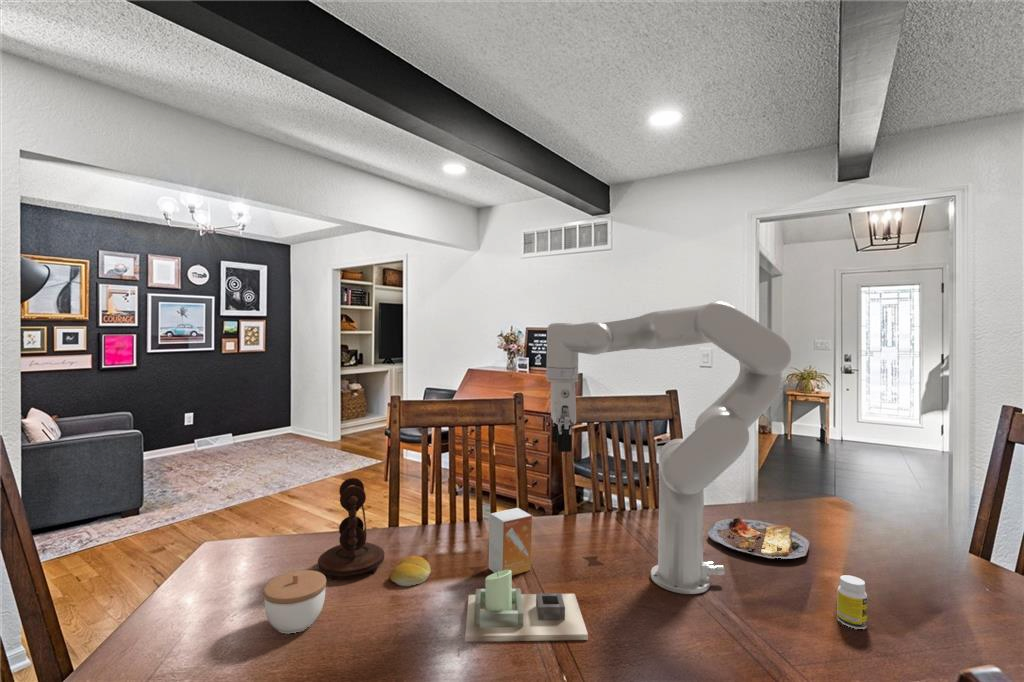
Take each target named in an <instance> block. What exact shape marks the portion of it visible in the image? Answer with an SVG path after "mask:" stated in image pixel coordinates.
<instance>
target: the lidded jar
mask: <svg viewBox="0 0 1024 682" xmlns="http://www.w3.org/2000/svg"><path fill="white" fill-rule="evenodd" d="M326 586H327V578H326V576H325V574H324V573H323V572H321V571H316V570H309V569H306V570H305V569H304V570H302V569H301V570H296V571H295V570H294V571H290V572H286V573H284V574H280V575H279V576H277V577H274V578H272V579H271V580H270V581H268V582H267V583H266V585H265V586H264V588H263V598H264V599H263V601H264V603H263V604H264V613H265V615H266V618H267V620H268V623H269V624H270V625H271V626H272V627H274V629H276V630H277V631H278V633H280V632H281V633H280V634H282V633H288V634H287V635H290V634H289V633H295V634H297V633H296V632H299V631H302V630H304V629H306V628H307V627H309V626H310V625H311V624H312V625H313V623H314V622H315V620H316V619H318V618H319V615H320V614H321V613H322V610H323V607H324V603H325V599H326V590H327V589H326ZM312 625H311V626H312ZM311 626H310V627H311ZM310 627H309V628H310ZM307 629H308V628H307ZM307 629H306V630H307ZM304 631H305V630H304ZM302 632H303V631H302ZM299 633H300V632H299Z"/></svg>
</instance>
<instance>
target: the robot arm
mask: <svg viewBox="0 0 1024 682" xmlns="http://www.w3.org/2000/svg"><path fill="white" fill-rule="evenodd" d="M711 343H712V344H713V345H715V346H716V347H718V348H719V349H720V350H722V351H724V352H725V353H727V354H728V355H729V356H731V357H732V358H734V359H736V360H737V361H738V364H739V373H738V375H737V377H736V380H735V381H734V382H733V383H732V384H731V385H730V387H729V388H727V389H726V390H725V392H724V393H722V395H720V396H719V397H718V398H717V399H716V400H715V401H714V402H713V403H711V405H709V406H708V407H707V408H706V409H705V410H704V411H702V412H701V413H700V415H698V416H697V418H696V420H695V424H694V425H695V426H694V428H695V430H694V431H692V432H691V434H689V436H687V437H686V438H674V439H671V440H669V441H668V442H666V443H665V444H664V445H663V446H662V448H661V450H660V453H659V457H658V486H659V487H658V538H657V539H658V541H657V544H658V547H657V549H658V551H657V553H658V554H657V564H656V565H654V566H652V568H651V569H650V578H651V580H652V581H653V583H654V584H656V585H657V586H659V587H660V588H662V589H664V590H667V591H670V592H673V593H677V594H680V595H681V594H682V595H697V594H701V593H705V592H707V591H708V590H709V588H710V586H711V580H710V577H711V576H712V575H714V576H715V575H716V576H724V575H725V574H726V570H725V567H724V565H719V564H717V565H716V564H715V563H714V562H713V561H704V557H703V556H704V513H705V493H704V492H705V491H704V489H706V488H707V487H709V486H710V484H712V483H713V482H715V480H716V479H717V478H719V477H720V476H721V475H722V474H723V473H724V472H725V471H726V470H727V469H729V467H731V466H732V465H733V464H734V463H735V462H736V461H737V460H738V459H740V458H741V456H742V455H743V454H744V452H745V450H747V446H748V444H749V441H750V432H749V428H751V426H752V425H754V423H756V421H757V420H758V419H759V418H760V417H761V416H762V415H763V414H764V413H765V412H766V411H767V410H768V409H769V408H770V407H771V405H772V404H773V402H774V401H775V400H776V398H777V396H778V393H779V390H780V386H781V379H782V372H783V371H785V369H786V368H787V367H788V366H789V364H790V362H791V359H792V351H791V347H790V346H789V343H788V342H787V341H786V339H785V338H783V337H782V336H780V335H779V334H778V333H777V332H775V331H773V330H772V329H770V328H768V326H767V327H766V326H765V325H764V324H762V323H760V322H758V321H757V320H755V319H754V318H752V317H751V316H749V315H748V314H746V313H744V312H743V311H741V310H740V309H738V308H737V307H735V306H734V305H731V304H729V303H727V302H724V301H712V302H710V303H709V302H708V303H707V304H700V305H693V306H688V307H680V308H673V309H666V310H665V309H664V310H656V311H653V312H647V313H645V314H642V315H640V316H636V317H632V318H627V319H620V320H614V321H613V320H612V321H605V322H597V321H593V322H583V323H572V322H554V323H549V325H547V328H546V371H545V372H546V375H545V377H546V380H545V381H546V382H550V417H551V420H552V426H551V442H552V443H555V444H556V443H557V445H556V451H557V452H558V453H563V452H564V453H571V452H572V445H573V444H572V440H573V439H572V438H573V435H572V425H576V423H577V403H576V402H577V400H576V399H577V398H576V397H577V396H576V384H575V383H577V382H579V353H580V354H586V355H594V356H595V355H596V356H597V355H600V354H604V353H605V354H606V353H612V352H614V353H615V352H619V351H621V352H622V351H629V350H640V349H641V350H643V349H644V350H645V349H646V350H659V349H668V348H669V349H670V348H676V347H677V348H678V347H684V346H693V345H694V346H695V345H701V344H711ZM714 564H715V565H714Z"/></svg>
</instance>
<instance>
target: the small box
mask: <svg viewBox="0 0 1024 682" xmlns="http://www.w3.org/2000/svg"><path fill="white" fill-rule="evenodd" d="M532 522H533V515H532V514H530V513H528V512H526V511H524V510H522V509H521V508H519V507H515V508H511V509H504V510H500V511H496V512H492V513H489V523H488V524H489V525H488V527H489V528H488V529H489V533H488V534H489V535H488V536H489V538H488V569H489V570H490V571H492V572H493V573H496V572H499V571H503V570H511V571H512V576H515V575H518V574H519V575H520V574H522V573H525V572H530V571H531V570H532V569H531V568H532V567H531V566H532V565H531V564H532V527H533V525H532V524H533V523H532ZM529 570H530V571H529Z"/></svg>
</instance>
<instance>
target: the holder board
mask: <svg viewBox="0 0 1024 682" xmlns="http://www.w3.org/2000/svg"><path fill="white" fill-rule="evenodd" d="M467 598H468V601H467V612H466V622H465V623H466V624H465V633H464V634H465V635H464V637H465V640H464V642H466V643H467V642H469V643H471V642H476V643H477V642H522V641H523V642H524V641H525V642H531V641H534V642H537V641H539V642H540V641H543V642H544V641H584V640H585V641H588V640H589V634H588V630H587V627H586V624H585V621H584V618H583V615H582V613H581V608H580V605H579V603H578V600H577V597H576V594H575V593H561V592H558V593H557V592H555V593H554V592H553V593H552V592H551V593H550V592H549V593H548V592H547V593H545V592H543V593H540V592H539V593H537V592H536V593H522V590H521V588H513V587H512V611H485V588H475V593H474V594H468V597H467Z"/></svg>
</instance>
